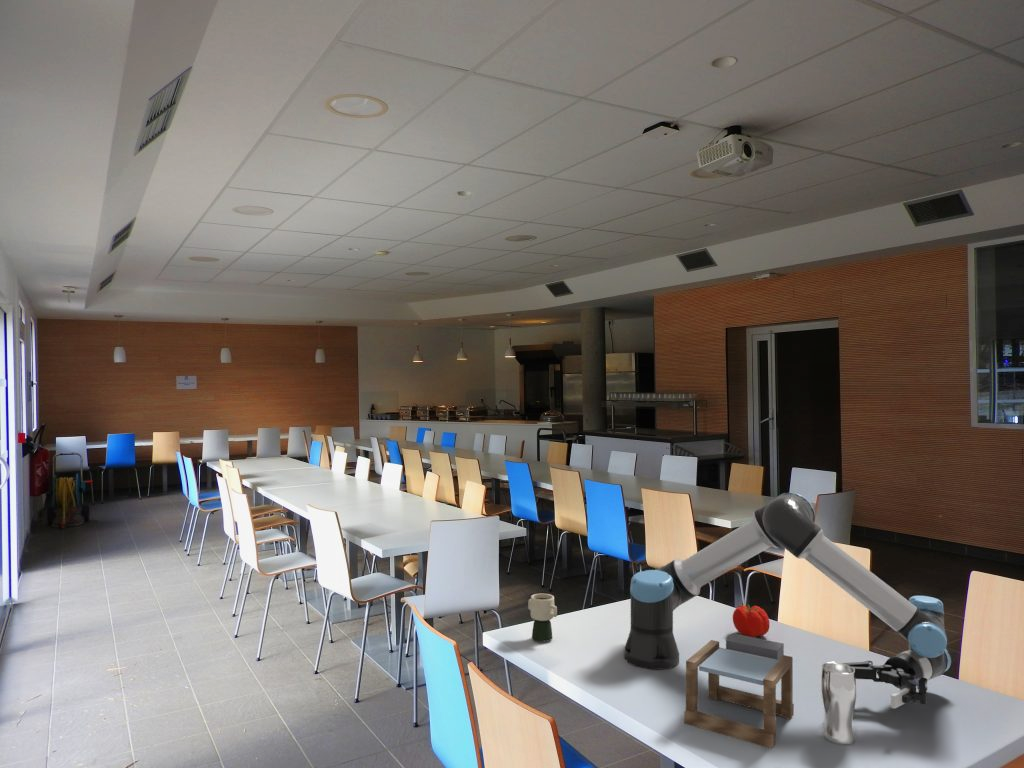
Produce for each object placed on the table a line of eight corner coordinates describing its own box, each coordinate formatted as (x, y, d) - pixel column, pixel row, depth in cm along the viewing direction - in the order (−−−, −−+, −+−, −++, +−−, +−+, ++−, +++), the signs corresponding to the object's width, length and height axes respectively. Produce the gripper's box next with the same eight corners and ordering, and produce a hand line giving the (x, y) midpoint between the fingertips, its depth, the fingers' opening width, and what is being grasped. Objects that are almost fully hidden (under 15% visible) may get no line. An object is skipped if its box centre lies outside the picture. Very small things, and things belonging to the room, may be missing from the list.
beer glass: (814, 730, 151) (814, 661, 152) (844, 729, 152) (844, 661, 152) (831, 746, 144) (831, 674, 145) (863, 745, 145) (863, 673, 145)
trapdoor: (788, 661, 165) (788, 644, 165) (763, 692, 147) (763, 673, 147) (729, 648, 173) (729, 632, 173) (699, 677, 155) (699, 659, 155)
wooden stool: (684, 723, 154) (684, 662, 155) (712, 693, 170) (712, 638, 170) (772, 748, 143) (772, 682, 144) (793, 714, 159) (793, 655, 159)
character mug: (563, 641, 206) (564, 597, 206) (548, 647, 201) (549, 602, 201) (536, 632, 213) (536, 590, 214) (520, 638, 208) (521, 595, 208)
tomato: (730, 637, 211) (730, 609, 211) (737, 627, 220) (737, 600, 221) (766, 644, 206) (766, 614, 206) (772, 633, 215) (772, 605, 215)
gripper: (965, 704, 155) (920, 729, 143) (856, 669, 176) (809, 688, 163) (965, 671, 156) (920, 693, 143) (856, 639, 176) (809, 656, 164)
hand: (861, 690), depth 153 cm, fingers open, 13 cm apart
